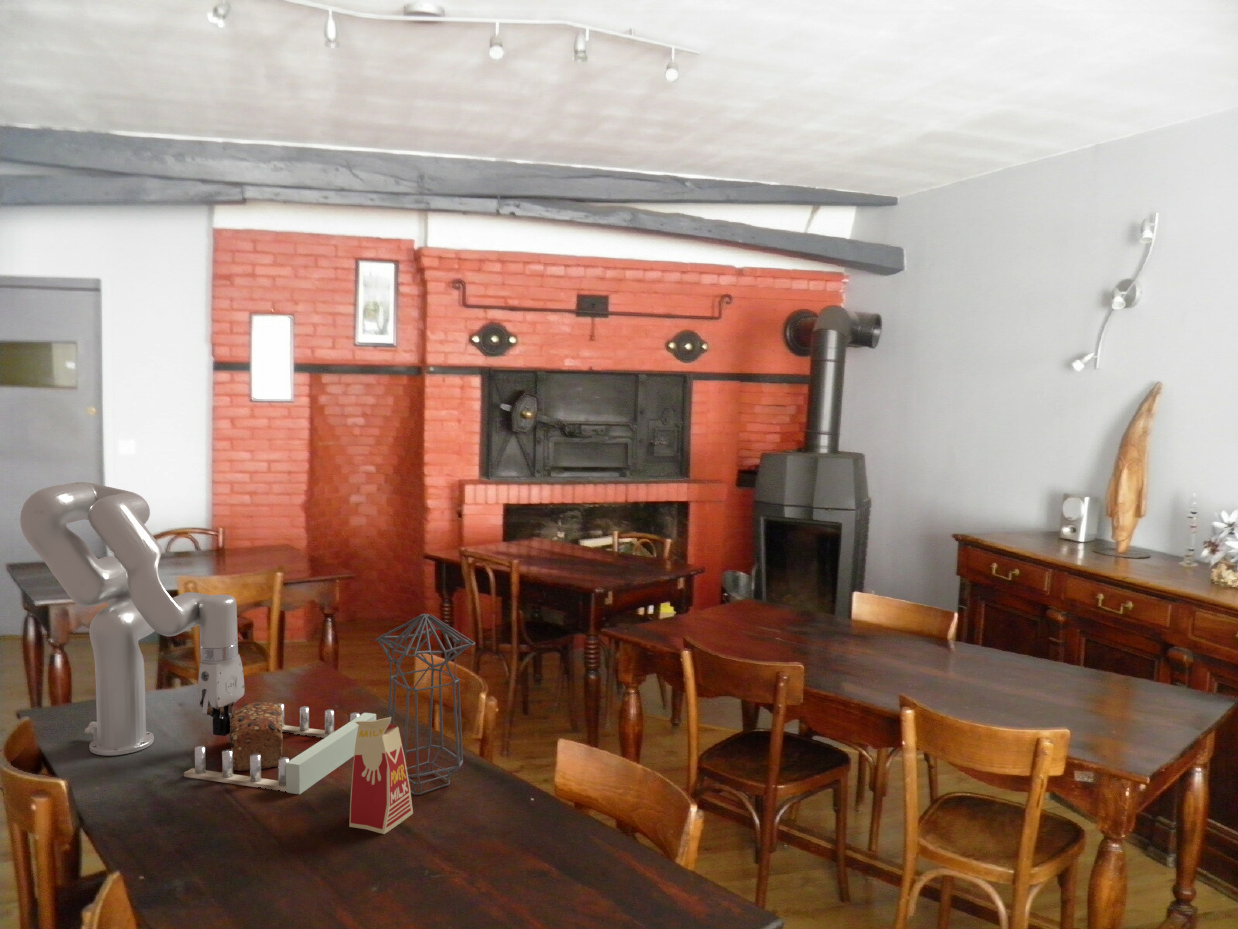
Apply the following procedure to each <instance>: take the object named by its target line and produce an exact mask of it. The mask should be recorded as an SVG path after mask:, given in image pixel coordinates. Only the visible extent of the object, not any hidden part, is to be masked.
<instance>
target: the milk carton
mask: <svg viewBox="0 0 1238 929" xmlns="http://www.w3.org/2000/svg"><path fill="white" fill-rule="evenodd" d="M391 718H392V716H390V717H388V718H387V717H384V718H380V719H376V720H375V721H356V722H355V723H357V724H358V725H359V726H358V732H357V737H356V743H355V752H354V756H353V762H352V773H351V787H350V800H349V804H350V805H349V824H348V825H349V828H356V829H362V830H368V831H371V832H375V833H377V834H378V833H379V834H381V835H385V834H387V833H388V832H390V831H391V830H392V829H394V828H395V827H397V826H398V825H400V824H401V823H403V822H404V821H405V820H407V819H408V818H409V817H410V816H412V815H413V814H414V809H413V802H412V793H411V792H410V790H411V786H410V781H409V779H410V778H409V779H408V775H409V773H408V770H407V768H408V766H407V761H406V762H405V756H404V746H403V743H402V738H401V734H400V728H399V726H398V725H395V724H394V725H393V724H391Z"/></svg>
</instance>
